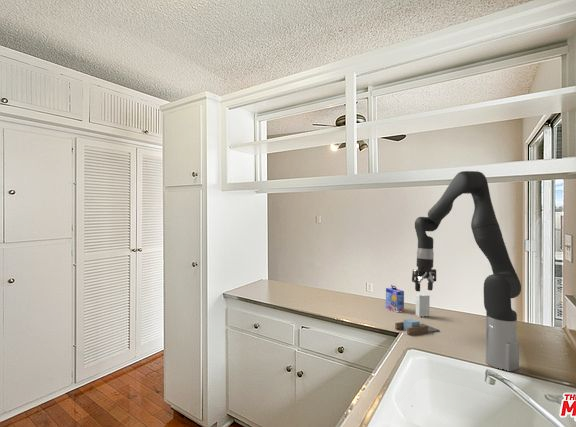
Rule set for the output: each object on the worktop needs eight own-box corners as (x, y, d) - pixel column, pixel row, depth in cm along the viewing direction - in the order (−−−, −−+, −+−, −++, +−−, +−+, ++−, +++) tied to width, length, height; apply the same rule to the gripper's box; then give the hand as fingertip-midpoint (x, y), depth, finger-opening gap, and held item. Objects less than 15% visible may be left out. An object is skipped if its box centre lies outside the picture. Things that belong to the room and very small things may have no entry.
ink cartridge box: (384, 308, 186) (385, 284, 187) (391, 307, 189) (392, 283, 189) (397, 312, 177) (397, 287, 178) (404, 311, 180) (404, 286, 180)
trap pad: (439, 331, 148) (439, 330, 148) (430, 332, 145) (430, 331, 145) (422, 324, 157) (422, 323, 157) (413, 325, 154) (413, 324, 154)
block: (419, 332, 146) (419, 321, 146) (411, 333, 144) (411, 322, 144) (411, 328, 150) (411, 318, 150) (403, 329, 148) (403, 319, 148)
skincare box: (425, 315, 174) (425, 293, 175) (429, 317, 170) (430, 295, 170) (414, 315, 174) (415, 293, 174) (419, 317, 169) (419, 295, 170)
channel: (427, 332, 146) (427, 325, 146) (408, 335, 141) (408, 328, 141) (413, 326, 153) (413, 320, 153) (395, 329, 148) (395, 322, 148)
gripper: (421, 258, 145) (419, 293, 144) (441, 258, 151) (440, 291, 151) (408, 256, 152) (407, 289, 151) (428, 256, 158) (427, 288, 157)
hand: (423, 290), depth 151 cm, fingers open, 8 cm apart
